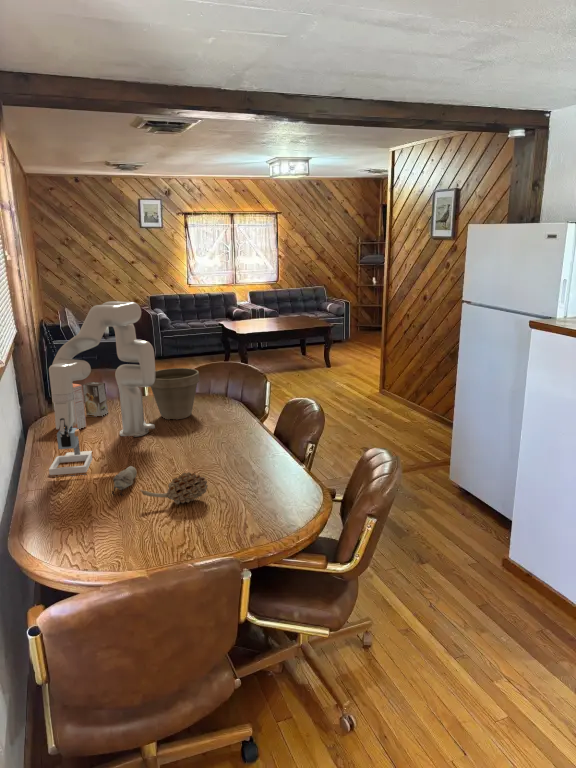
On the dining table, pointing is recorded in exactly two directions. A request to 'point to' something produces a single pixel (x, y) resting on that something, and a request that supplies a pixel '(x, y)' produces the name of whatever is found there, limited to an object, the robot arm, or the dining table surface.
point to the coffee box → (95, 398)
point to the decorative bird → (124, 479)
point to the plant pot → (175, 392)
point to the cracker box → (78, 407)
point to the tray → (69, 470)
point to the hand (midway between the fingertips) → (68, 443)
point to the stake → (78, 451)
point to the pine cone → (183, 488)
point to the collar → (73, 437)
